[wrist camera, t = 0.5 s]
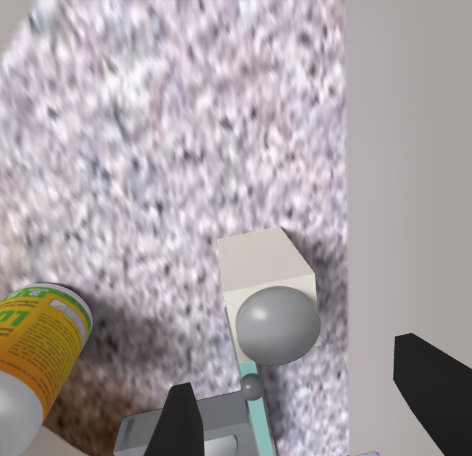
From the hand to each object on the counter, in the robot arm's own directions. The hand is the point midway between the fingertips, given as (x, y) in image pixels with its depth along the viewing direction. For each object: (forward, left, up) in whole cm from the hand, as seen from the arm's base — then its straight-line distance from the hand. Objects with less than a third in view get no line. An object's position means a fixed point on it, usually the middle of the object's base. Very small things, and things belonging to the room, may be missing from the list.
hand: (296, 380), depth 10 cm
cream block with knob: (0, 0, -9) cm, 9 cm away
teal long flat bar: (-10, +2, -9) cm, 13 cm away
